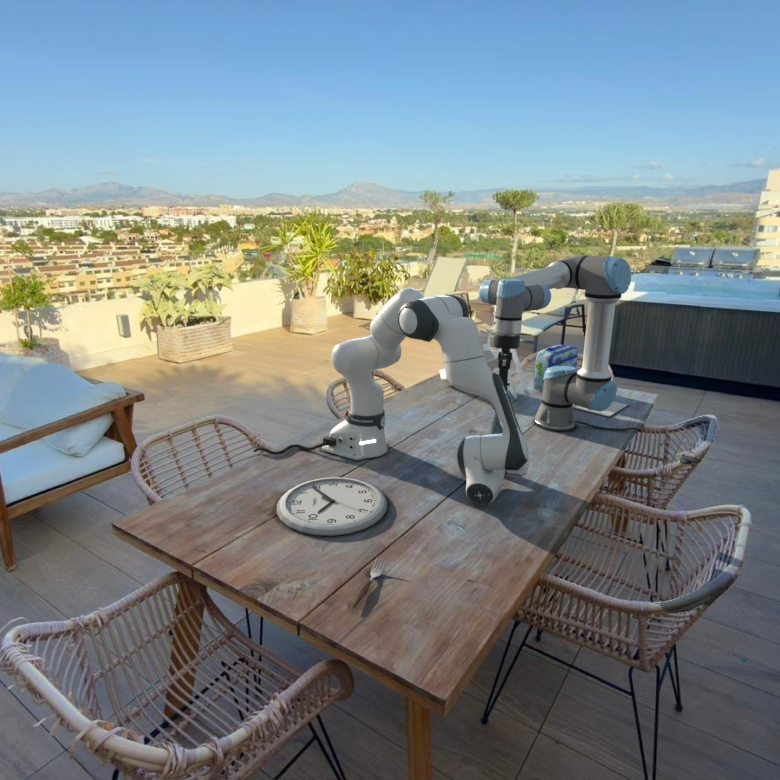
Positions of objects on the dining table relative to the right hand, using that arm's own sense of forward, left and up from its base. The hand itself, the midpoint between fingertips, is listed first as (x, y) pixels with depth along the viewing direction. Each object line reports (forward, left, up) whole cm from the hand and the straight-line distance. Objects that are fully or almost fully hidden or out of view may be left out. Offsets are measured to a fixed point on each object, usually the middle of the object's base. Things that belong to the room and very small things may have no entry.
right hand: (500, 409), depth 158 cm
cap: (0, 0, +2) cm, 2 cm away
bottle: (0, 0, -21) cm, 21 cm away
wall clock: (+46, +28, -21) cm, 58 cm away
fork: (+31, +60, -21) cm, 71 cm away
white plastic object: (+1, -83, -21) cm, 85 cm away
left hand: (0, -1, -15) cm, 15 cm away
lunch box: (-34, -94, -21) cm, 102 cm away
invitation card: (-50, -71, -21) cm, 89 cm away
